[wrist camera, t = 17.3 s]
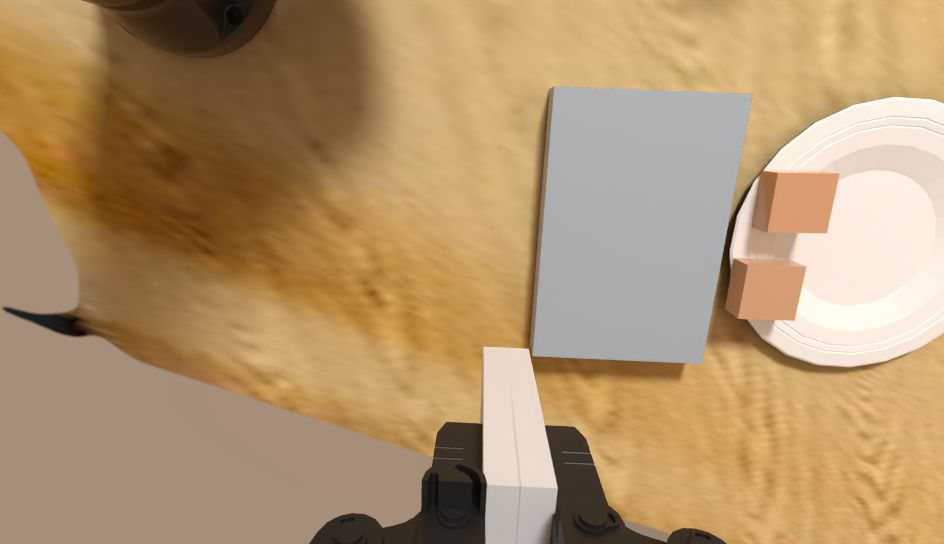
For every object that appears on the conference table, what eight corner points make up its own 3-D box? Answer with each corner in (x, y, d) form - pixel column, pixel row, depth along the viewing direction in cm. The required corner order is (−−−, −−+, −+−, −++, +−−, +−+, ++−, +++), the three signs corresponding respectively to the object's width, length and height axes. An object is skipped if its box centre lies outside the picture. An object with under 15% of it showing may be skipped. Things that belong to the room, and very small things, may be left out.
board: (529, 343, 49) (532, 356, 46) (549, 89, 42) (554, 86, 39) (689, 350, 49) (702, 363, 46) (734, 96, 42) (752, 93, 39)
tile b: (724, 309, 46) (738, 319, 43) (733, 258, 44) (748, 265, 42) (778, 310, 46) (794, 320, 43) (789, 259, 44) (806, 266, 42)
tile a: (751, 227, 44) (767, 232, 41) (761, 170, 42) (777, 172, 40) (807, 227, 43) (826, 233, 41) (819, 171, 42) (839, 173, 40)
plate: (966, 353, 48) (985, 361, 47) (712, 365, 49) (720, 374, 48) (1027, 87, 42) (1052, 85, 40) (731, 108, 43) (742, 107, 41)
